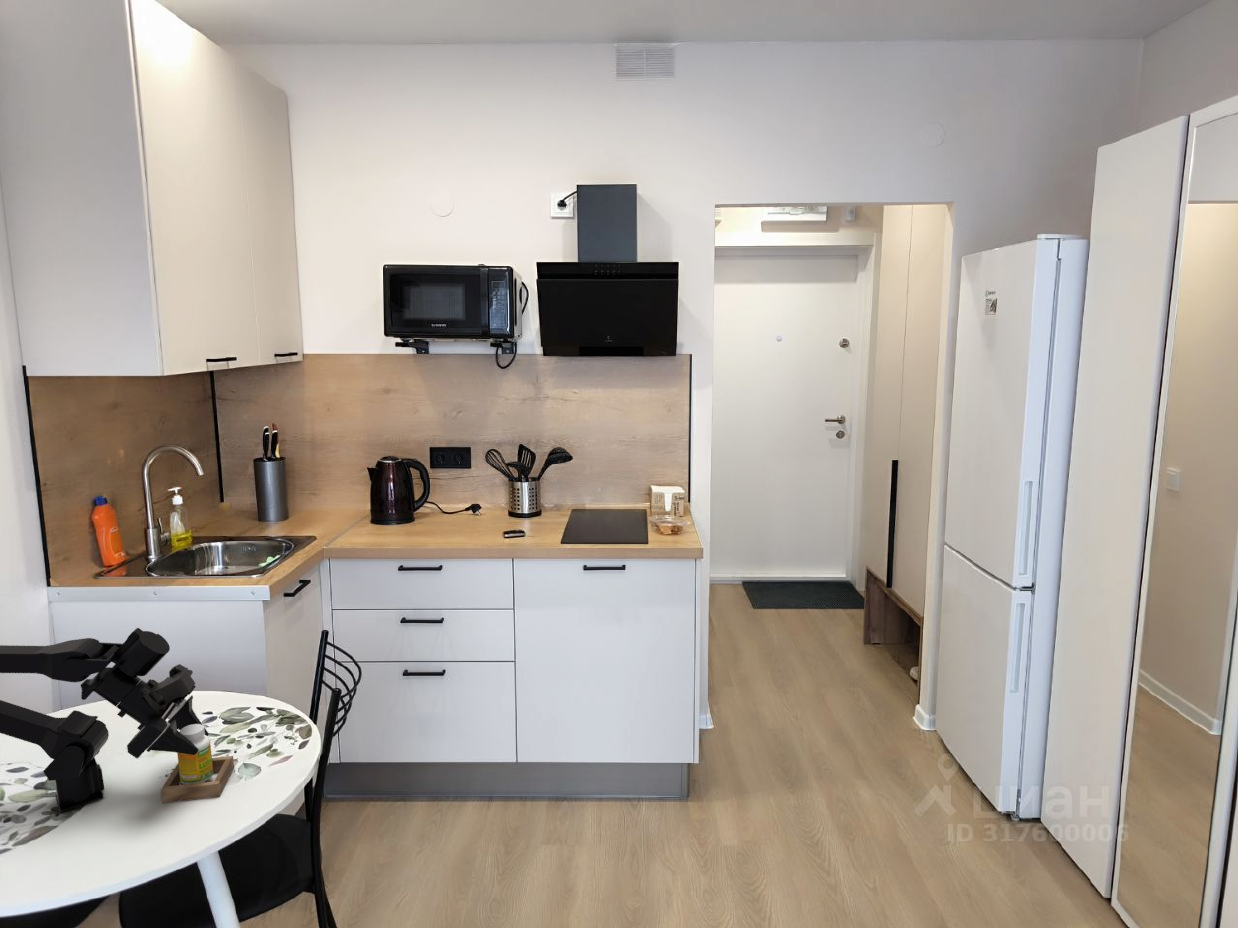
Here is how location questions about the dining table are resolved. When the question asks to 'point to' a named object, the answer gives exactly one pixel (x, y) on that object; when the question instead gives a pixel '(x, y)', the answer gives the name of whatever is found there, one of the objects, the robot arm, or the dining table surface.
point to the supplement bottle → (196, 757)
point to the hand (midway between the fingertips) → (202, 744)
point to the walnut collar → (198, 790)
